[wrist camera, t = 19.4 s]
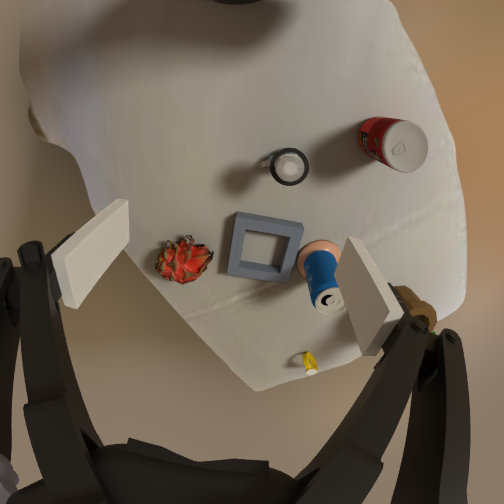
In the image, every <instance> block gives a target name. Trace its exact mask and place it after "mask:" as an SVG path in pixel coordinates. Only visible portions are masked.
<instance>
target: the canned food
mask: <svg viewBox="0 0 504 504" xmlns="http://www.w3.org/2000/svg"><path fill="white" fill-rule="evenodd" d="M359 143H360V146H361V148H362V150H363V151H364V152H365V153H366V154H367V155H368V156H370V157H372V158H374V159H376V160H377V161H379V162H381V163H383V164H385V165H387V166H389V167H390V168H392V169H394V170H396V171H399V172H404V173H408V172H413V171H415V170H417V169H418V168H420V167H421V166H422V165H423V163H424V162H425V160H426V158H427V155H428V149H429V146H428V139H427V136H426V134H425V132H424V131H423V129H422V128H421V127H420V126H418V125H417V124H415V123H413V122H410V121H406V120H400V119H393V118H386V117H373V118H371V119H369V120H367V121H366V122H365V123H364V124H363V125H362V127H361V129H360V131H359Z"/></svg>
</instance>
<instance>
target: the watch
mask: <svg viewBox="0 0 504 504" xmlns="http://www.w3.org/2000/svg"><path fill="white" fill-rule="evenodd" d="M308 358H309V360H310V362H311V365H312V367H311V365H310V363H309V360H308ZM303 362H304V365H305V367H306V369H307V370H306V374H307V375H314V374H316V372H317V370H318V368H317V363H316V360H315V358H314V357H313V356H312V355H311V354H310V353H309V352H307V353H305V354H303Z"/></svg>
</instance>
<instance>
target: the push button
mask: <svg viewBox="0 0 504 504" xmlns="http://www.w3.org/2000/svg"><path fill="white" fill-rule="evenodd" d="M300 157H301V158H300ZM264 163H265V165H264ZM261 166H262V167H266V166H270V172H271V174H272V176H273V178H274V179H275V180H276V181H277V182H278V183H280V184H282V185H286V186H293V185H296V184H299V183H300V182H302V181H303V180H304V179H305V178H306V176H307V174H308V171H309V163H308V160H307V158H306V156H305V155H304V154H303V153H302V152H301V151H299V150H297V149H296V148H281V149H278V152H276V153H275V154H273V155H270V156H269V159H267V160H266V161H263V162H261ZM275 170H276V172H275Z"/></svg>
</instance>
